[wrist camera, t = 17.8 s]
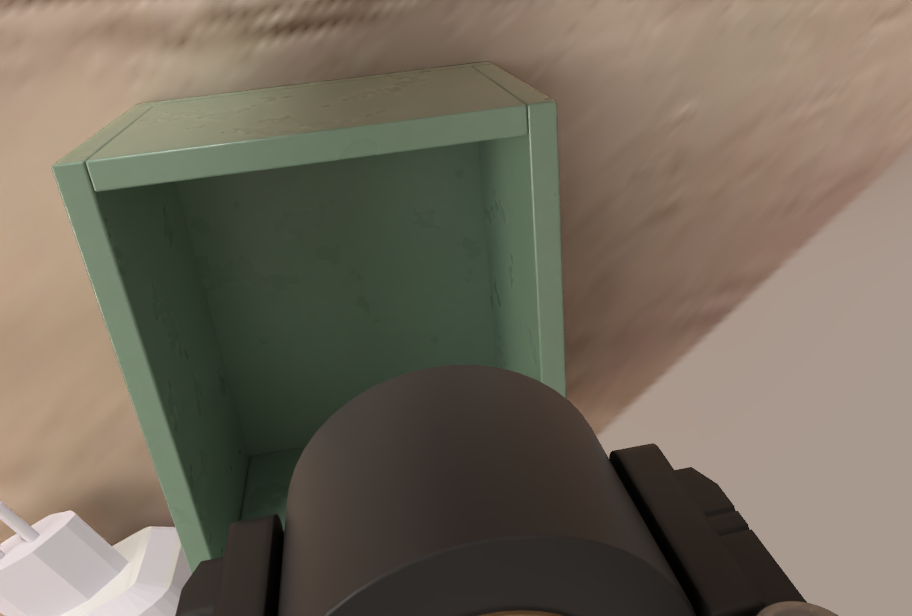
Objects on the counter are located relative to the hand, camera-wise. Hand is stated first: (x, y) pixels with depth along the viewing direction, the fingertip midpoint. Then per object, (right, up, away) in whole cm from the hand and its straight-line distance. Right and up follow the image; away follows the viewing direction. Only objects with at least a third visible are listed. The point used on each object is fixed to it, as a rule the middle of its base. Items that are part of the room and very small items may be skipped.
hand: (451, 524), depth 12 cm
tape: (0, 0, 0) cm, 1 cm away
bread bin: (-4, +5, +17) cm, 18 cm away
